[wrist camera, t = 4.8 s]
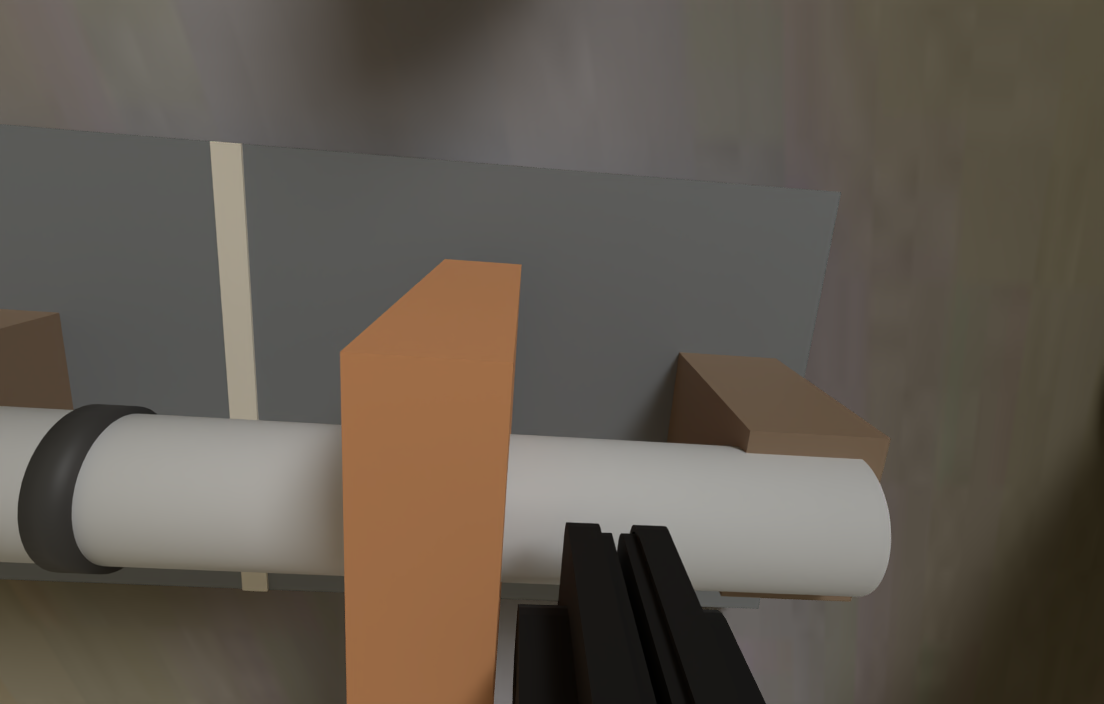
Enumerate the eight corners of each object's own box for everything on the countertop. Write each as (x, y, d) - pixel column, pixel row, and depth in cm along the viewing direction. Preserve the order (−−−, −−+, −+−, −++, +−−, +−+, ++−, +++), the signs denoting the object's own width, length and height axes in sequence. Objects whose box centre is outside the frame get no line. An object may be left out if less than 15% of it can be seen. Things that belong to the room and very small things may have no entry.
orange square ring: (521, 264, 16) (512, 362, 7) (503, 561, 18) (479, 908, 9) (445, 258, 16) (340, 351, 7) (436, 558, 18) (350, 907, 9)
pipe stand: (816, 191, 18) (1081, 197, 10) (743, 580, 22) (885, 842, 13) (-73, 120, 17) (-729, 48, 8) (8, 550, 21) (-378, 822, 12)
